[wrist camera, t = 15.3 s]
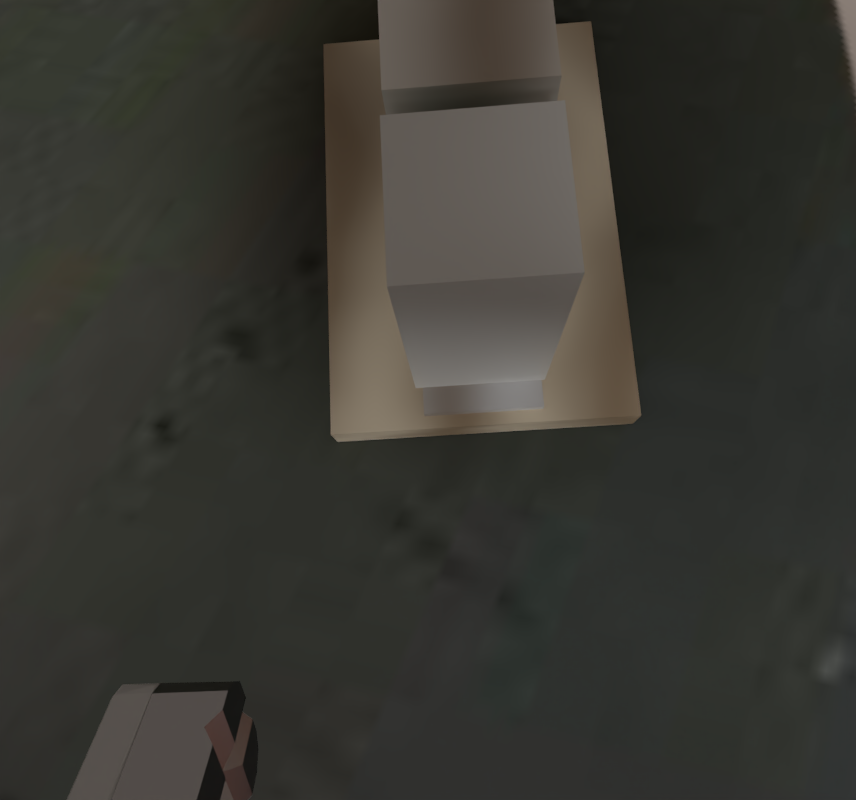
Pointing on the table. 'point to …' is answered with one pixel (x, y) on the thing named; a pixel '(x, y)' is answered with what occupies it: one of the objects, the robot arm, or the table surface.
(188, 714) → the robot arm
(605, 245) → the rail board
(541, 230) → the block
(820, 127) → the table surface
